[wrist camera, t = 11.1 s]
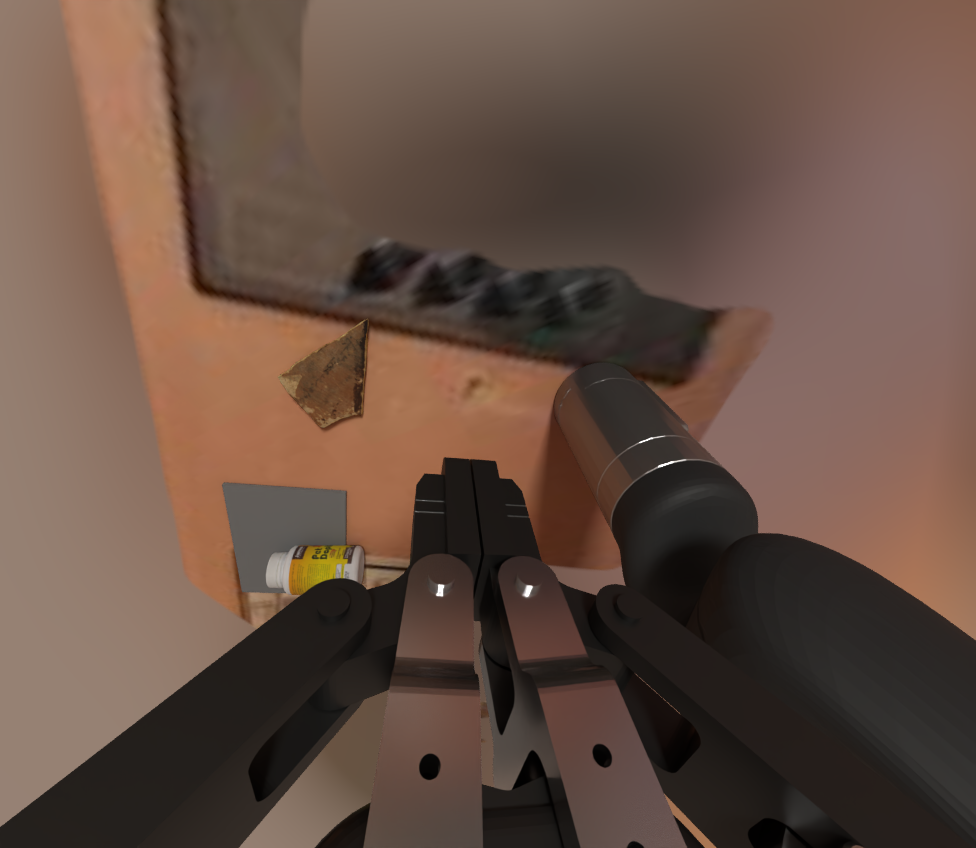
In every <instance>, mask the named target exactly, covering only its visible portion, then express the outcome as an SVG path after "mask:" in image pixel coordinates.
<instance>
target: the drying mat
mask: <svg viewBox="0 0 976 848" xmlns="http://www.w3.org/2000/svg"><path fill="white" fill-rule="evenodd" d="M222 487H223V492H224V497H225V503H226V508H227V513H228V519H229V524H230V529H231V535H232V540H233V545H234V551H235V556H236V561H237V567H238V572H239V577H240V583H241V588H242V592H260V593H286V592H285V591H284V588H269V587H268V586H267V583H266V570H267V565H268V562H269V559H270V557H271V555H272V554H273V553H276V552H289V551H290V550H291V548H293V547H294V546H300V545H346V491H341V490H326V489H312V488H297V487H282V486H267V485H253V484H238V483H223V484H222Z"/></svg>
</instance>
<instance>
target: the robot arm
mask: <svg viewBox="0 0 976 848" xmlns="http://www.w3.org/2000/svg"><path fill="white" fill-rule="evenodd" d="M554 413H555V416H556V420H557V422H558V424H559V426H560V428H561V430H562V432H563V434H564V436H565V438H566V440H567V442H568V444H569V446H570V448H571V451H572V453H573V455H574V457H575V459H576V461H577V463H578V465H579V467H580V469H581V471H582V473H583V475H584V477H585V479H586V481H587V483H588V485H589V487H590V489H591V491H592V493H593V495H594V497H595V499H596V501H597V503H598V505H599V507H600V509H601V511H602V513H603V515H604V517H605V519H606V521H607V523H608V525H609V527H610V529H611V531H612V533H613V535H614V538H615V540H616V542H617V544H618V546H619V549H620V555H621V563H622V571H623V577H624V581H625V585H626V586H623V585H618V584H614V585H607V586H605V587H603V588H602V589H600V591H599V592H598V594H597V596H596V595H593V594H590V593H586V592H583V591H580V590H577V589H574V588H571V587H568V586H566V585H564V584H562V583H560V582H559V581H558V579H557V577H556V575H555V573H554V572H553V571H552V570H551V569H550V567H548V566H547V565H546V564H545V563H543V562H542V560H541V557H540V553H539V550H538V546H537V543H536V539H535V536H534V532H533V529H532V525H531V522H530V518H529V514H528V511H527V507H526V504H525V500H524V497H523V493H522V491H521V489H520V488H519V487H518V486H517V485H516V484H515V482H514V481H513V480H512V479H501V478H499V474H498V469H497V464H496V462H495V461H488V460H475V459H470V461H469V459H460V458H446V457H444V459H443V465H442V472H441V475H439V474H424V475H423V477H422V478H421V479H420V481H419V482H418V484H417V486H416V495H415V505H414V515H413V524H412V540H411V554H410V565H409V567H408V569H407V570H406V571H405V572H404V574H402V575H401V576H400V577H399V578H397V579H396V580H394V581H392V582H390V583H388V584H385V585H382V586H379V587H375V588H371V589H368V590H367V589H366V588H365V587H364V586H363V585H362V584H360V583H358V582H357V581H354V580H351V579H346V578H334V579H329V580H325V581H323V582H320V583H318V584H316V585H314V586H313V587H311V588H310V589H308V590H307V591H306V592H305V593H303V594H302V595H301V596H299V597H298V598H297V599H295V600H294V601H293V602H292V603H290V604H289V605H288V606H286V607H285V608H284V609H282V610H281V611H280V612H279V613H277V614H276V615H275V616H273V617H272V618H271V619H270V620H268V621H267V622H266V623H264V624H263V625H262V626H260V627H259V628H258V629H257V630H255V631H254V632H253V633H251V634H250V635H249V636H247V637H246V638H245V639H244V640H242V641H241V642H240V643H238V644H237V645H236V646H235V647H233V648H232V649H231V650H229V651H228V652H227V653H225V654H224V655H223V656H222V657H221V658H219V659H218V660H216V661H215V662H214V663H212V664H211V665H210V666H209V667H207V668H206V669H205V670H203V671H202V672H201V673H199V674H198V675H197V676H196V677H194V678H193V679H192V680H190V681H189V682H188V683H187V684H185V685H184V686H183V687H181V688H180V689H179V690H177V691H176V692H175V693H174V694H172V695H171V696H170V697H168V698H167V699H166V700H164V701H163V702H162V703H161V704H159V705H158V706H157V707H155V708H154V709H153V710H151V711H150V712H149V713H148V714H146V715H145V716H144V717H142V718H141V719H140V720H139V721H137V722H136V723H135V724H133V725H132V726H131V727H129V728H128V729H127V730H126V731H124V732H123V733H122V734H121V735H119V736H118V737H116V738H115V739H114V740H113V741H112V742H110V743H109V744H108V745H106V746H105V747H104V748H103V749H101V750H100V751H98V752H97V753H96V754H94V755H93V756H92V757H91V758H89V759H88V760H87V761H86V762H84V763H83V764H81V765H80V766H79V767H78V768H76V769H75V770H74V771H72V772H71V773H70V774H68V775H67V776H66V777H65V778H63V779H62V780H61V781H59V782H58V783H57V784H55V785H54V786H53V787H52V788H50V789H49V790H48V791H46V792H45V793H44V794H43V795H41V796H40V797H39V798H38V799H36V800H35V801H33V802H32V803H31V804H30V805H28V806H27V807H26V808H24V809H23V810H22V811H21V812H19V813H18V814H17V815H15V816H14V817H13V818H11V819H10V820H9V821H7V822H6V823H5V824H4V825H2V826H1V827H0V848H239V847H240V845H241V844H242V843H243V842H244V841H245V840H246V838H247V837H248V836H249V835H250V834H251V833H252V831H253V830H254V829H255V828H256V827H257V825H258V824H259V823H260V822H261V821H262V820H263V818H264V817H265V816H266V815H267V814H268V813H269V812H270V810H271V809H272V808H273V807H274V806H275V805H276V803H277V802H278V801H279V800H280V799H281V797H282V796H283V795H284V794H285V793H286V792H287V791H288V789H289V788H290V787H291V786H292V784H294V782H295V781H296V780H297V779H298V777H300V775H301V774H302V773H303V772H304V771H305V769H306V768H307V767H308V766H309V765H310V764H311V763H312V761H313V760H314V759H315V758H316V757H317V756H318V754H319V753H320V752H321V751H322V750H323V748H324V747H325V746H326V745H327V744H328V743H329V742H330V740H331V739H332V738H333V737H334V736H335V735H336V733H337V732H338V731H339V730H340V729H341V728H342V726H343V725H344V724H345V722H347V721H348V719H349V718H350V717H351V716H352V715H353V713H354V712H355V711H356V710H357V709H358V708H359V706H360V705H361V703H362V702H363V700H364V699H367V698H369V697H372V696H374V695H377V694H379V693H382V692H384V691H387V690H389V693H388V700H387V705H386V712H385V718H384V724H383V730H382V737H381V742H380V748H379V755H378V761H377V767H376V773H375V779H374V786H373V791H372V798H371V803H369V804H367V805H365V806H364V807H362V808H360V809H358V810H357V811H355V812H353V813H352V814H351V815H349V816H348V817H347V818H345V819H344V820H343V821H341V822H340V823H339V824H338V825H337V826H336V827H334V828H333V829H332V830H331V831H330V832H329V833H328V834H327V835H326V836H325V837H324V838H323V839H322V840H321V841H320V842H319V844H318V845H317V846H316V847H315V848H704V846H703V845H702V844H701V843H700V842H699V841H698V840H697V839H696V838H695V837H694V836H693V834H692V833H691V832H690V831H689V830H688V829H687V828H686V827H685V826H684V825H683V824H682V823H681V822H680V821H679V820H678V819H677V818H676V817H675V816H674V815H673V814H672V812H671V809H670V807H669V805H668V802H667V800H666V798H665V795H666V796H667V797H668V798H669V799H670V800H671V801H672V802H673V803H674V804H675V805H676V806H677V807H678V808H679V809H680V810H681V811H682V812H683V813H684V814H685V815H686V817H687V818H688V819H689V820H690V821H691V822H692V823H693V824H694V825H695V826H696V827H697V828H698V829H699V830H700V831H701V832H702V833H703V834H704V835H705V836H706V837H707V838H708V839H709V840H710V841H711V842H712V843H713V844H714V845H715V846H716V848H976V640H974V639H973V638H971V637H970V636H969V635H967V634H966V633H965V632H963V631H962V630H961V629H959V628H958V627H957V626H955V625H954V624H952V623H951V622H950V621H948V620H947V619H946V618H944V617H943V616H941V615H940V614H938V613H937V612H936V611H934V610H933V609H931V608H930V607H928V606H927V605H926V604H924V603H923V602H921V601H920V600H918V599H917V598H915V597H914V596H912V595H911V594H909V593H907V592H906V591H904V590H903V589H901V588H900V587H898V586H897V585H895V584H894V583H892V582H890V581H889V580H887V579H886V578H884V577H883V576H881V575H879V574H878V573H876V572H874V571H873V570H871V569H869V568H867V567H866V566H864V565H862V564H860V563H858V562H856V561H854V560H852V559H850V558H848V557H846V556H844V555H842V554H840V553H838V552H836V551H834V550H831V549H829V548H827V547H824V546H822V545H819V544H816V543H813V542H811V541H807V540H805V539H802V538H798V537H794V536H788V535H783V534H771V533H770V534H769V533H758V516H757V511H756V507H755V505H754V502H753V500H752V498H751V497H750V495H749V494H748V492H747V491H746V490H745V489H744V488H743V487H742V485H741V484H740V483H739V482H738V481H737V480H736V479H735V478H734V477H733V476H732V475H731V474H730V473H729V472H727V470H726V469H725V468H724V467H723V466H722V465H721V464H720V463H719V462H718V461H717V460H716V459H715V458H714V457H712V456H711V454H710V453H709V452H708V451H707V450H706V449H705V448H703V447H702V446H701V445H700V444H699V443H698V442H697V441H696V440H695V439H694V438H693V437H692V436H691V435H690V434H689V433H688V425H687V424H686V423H685V422H684V421H683V420H682V419H681V418H680V417H679V416H678V415H677V414H676V413H675V412H674V411H673V410H672V409H671V408H670V407H669V406H668V405H667V404H666V403H665V402H664V401H663V400H662V399H661V398H660V397H658V396H657V395H656V394H655V393H654V392H653V391H652V390H651V389H650V388H649V387H648V386H647V385H646V384H645V383H644V382H643V381H639V380H636V379H635V378H634V377H633V376H632V375H631V374H630V373H629V372H628V371H627V370H625V369H624V368H623V367H621V366H618V365H616V364H612V363H594V364H590V365H587V366H585V367H582V368H580V369H578V370H577V371H575V372H574V373H572V374H571V375H570V376H569V377H568V378H567V379H566V380H565V381H564V382H563V384H562V385H561V387H560V388H559V390H558V392H557V395H556V397H555V402H554ZM474 621H480V622H481V631H482V636H481V640H480V644H479V659H480V664H481V671H482V676H483V683H484V689H485V695H486V701H487V707H488V713H489V719H490V724H491V730H492V737H493V750H494V753H493V754H494V756H493V780H494V787H490V786H486V785H483V784H482V771H481V719H480V686H479V678H478V675H477V674H475V670H474ZM635 673H636V674H637V675H638V676H639V677H640V678H641V679H642V680H643V681H645V682H646V683H647V684H648V685H649V686H650V687H651V688H652V689H654V690H655V691H656V692H657V693H658V694H659V695H660V696H661V697H662V698H661V697H660V696H659V695H658V694H657V693H656V692H655V691H654V690H652V689H651V688H650V687H649V686H648V685H647V684H646V683H645V682H643V681H642V680H641V679H640V678H639V677H638V676H637V675H636V674H635ZM663 698H664V699H665V700H666V701H667V702H668V703H669V704H670V705H672V706H673V707H674V708H675V709H676V710H677V711H678V712H679V713H680V714H681V715H680V714H679V713H678V712H677V711H676V710H675V709H674V708H673V707H671V706H670V705H669V704H668V703H667V702H666V701H665V700H664V699H663ZM664 794H665V795H664Z"/></svg>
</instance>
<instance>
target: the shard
mask: <svg viewBox="0 0 976 848" xmlns="http://www.w3.org/2000/svg"><path fill="white" fill-rule="evenodd" d="M368 325H369V322H368V319H366V320H364V321H362V322H361V323H359V324H358V325H357V326H355V327H354V328H352V329H350V330H349V331H348V332H347V333H346V334H344V335H342V336H341V337H339V338H338V339H336V340H335V341H333V342H331V343H328V344H326V345H324V346H323V347H321V348H319V349H318V350H317V351H315V352H313V353H311V354H309V355H308V356H306V357H305V358H304V359H302V360H300V361H298V362H296V363H295V364H294V365H292V366H291V368H290V369H289V370H288V371H286V372H285V373H283V374H281V375H280V376H279V377H278V378H279V380H280V382H281V383H282V385H283V386H284V387H285V389H286V390H287V392H288V393H289V395H290V396H291V397H293V399H294V400H295V401H296V402H297V403H298V404H299V405H301V406H302V408H303V409H304V410H305V411H306V412H307V413H308V414H309V415H310V416H311V417H312V419H313V420H314V421H315V422H316V424H317V425H318V426H320V427H323V428H324V427H326V426H328V425H330V424H331V423H334V422H336V421H338V420H339V419H342V418H345V417H348V416H352V415H362V414H363V395H364V379H365V371H366V357H367V346H368V336H367V332H368Z"/></svg>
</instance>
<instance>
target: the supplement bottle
mask: <svg viewBox="0 0 976 848" xmlns="http://www.w3.org/2000/svg"><path fill="white" fill-rule="evenodd" d="M363 572H364V551H363V548H362V547H361V546H355V545H300V546H294V547H293V548H291V550H290V551H289V552H276V553H273V554H272V555H271V557H270V559H269V562H268V565H267V570H266V583H267V586H268V587H269V588H284V591H285V592H286V593H287V594H289V595H302V594H303V593H305V592H306V591H307V590H308V589H310V588H311V587H313V586H314V585H316V584H318V583H320V582H323V581H325V580H329V579H334V578H346V579H351V580H354V581H357V582H358V583H360V584H362V579H363Z"/></svg>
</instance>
